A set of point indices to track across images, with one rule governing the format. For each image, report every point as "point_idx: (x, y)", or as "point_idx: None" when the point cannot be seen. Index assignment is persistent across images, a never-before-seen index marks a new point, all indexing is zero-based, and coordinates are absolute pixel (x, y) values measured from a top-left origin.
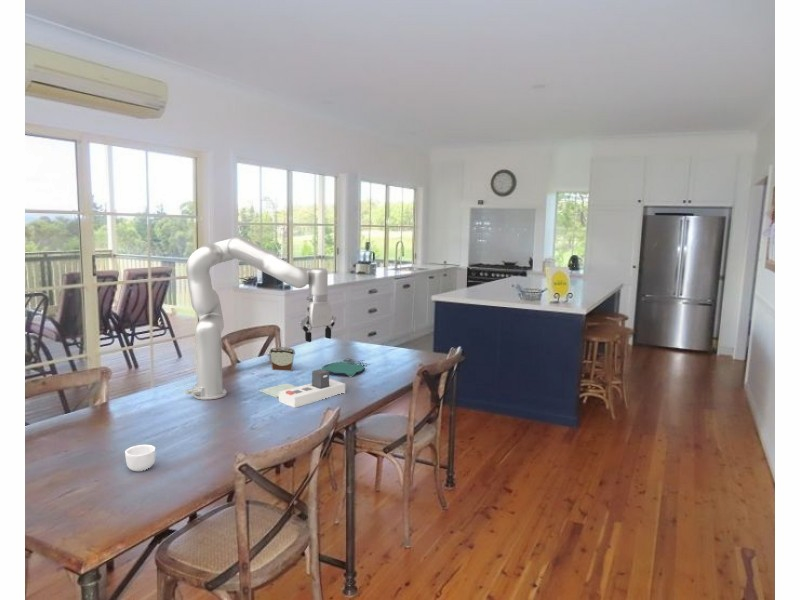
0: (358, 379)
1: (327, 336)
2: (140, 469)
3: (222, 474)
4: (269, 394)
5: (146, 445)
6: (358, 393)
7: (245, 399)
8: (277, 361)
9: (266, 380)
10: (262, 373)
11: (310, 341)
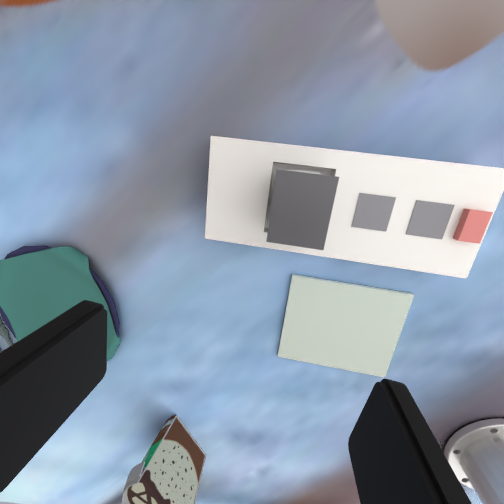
0: (81, 213)
1: (92, 352)
2: None
3: None
4: (400, 330)
5: None
6: (189, 96)
7: (478, 357)
8: (188, 472)
9: (287, 416)
10: (246, 456)
11: (398, 383)
